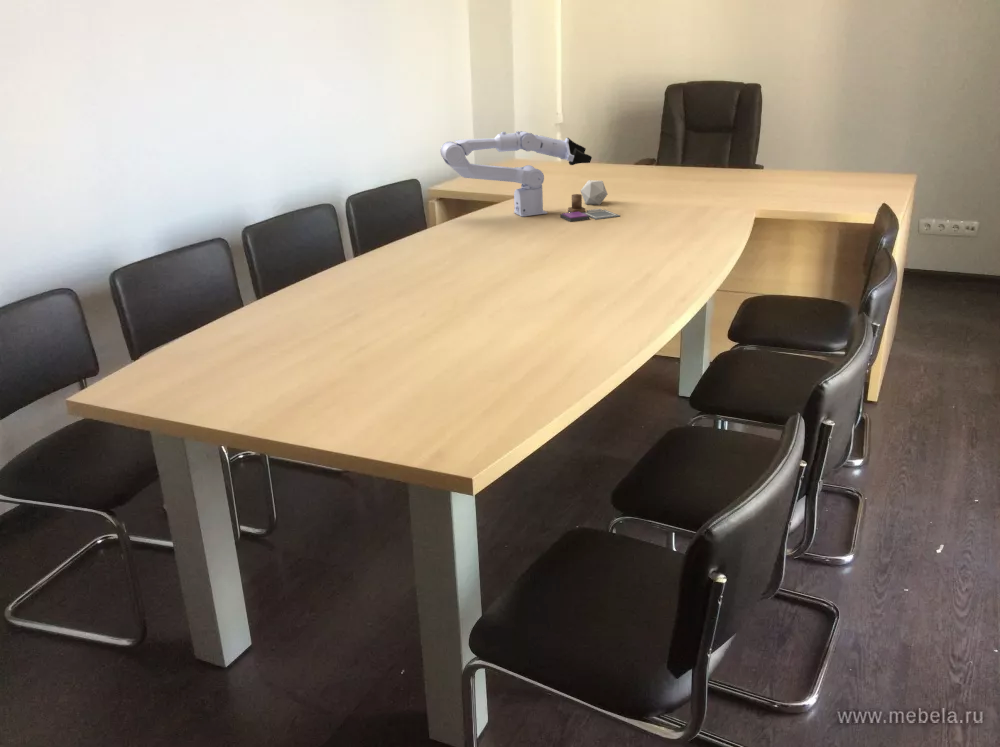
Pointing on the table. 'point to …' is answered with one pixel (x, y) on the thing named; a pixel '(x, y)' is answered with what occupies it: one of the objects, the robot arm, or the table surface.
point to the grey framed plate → (600, 214)
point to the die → (594, 192)
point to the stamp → (576, 204)
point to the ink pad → (574, 216)
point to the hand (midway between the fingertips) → (587, 155)
